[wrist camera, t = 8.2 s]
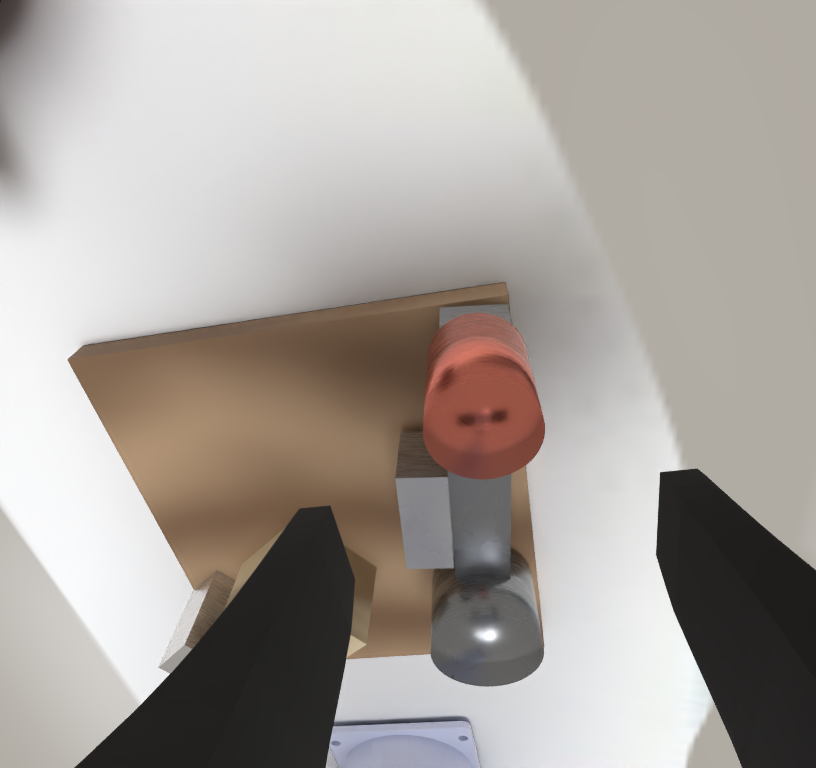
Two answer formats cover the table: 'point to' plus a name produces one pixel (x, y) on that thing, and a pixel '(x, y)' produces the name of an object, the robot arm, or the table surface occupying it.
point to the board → (287, 439)
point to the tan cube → (362, 591)
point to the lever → (473, 496)
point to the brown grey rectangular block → (197, 618)
